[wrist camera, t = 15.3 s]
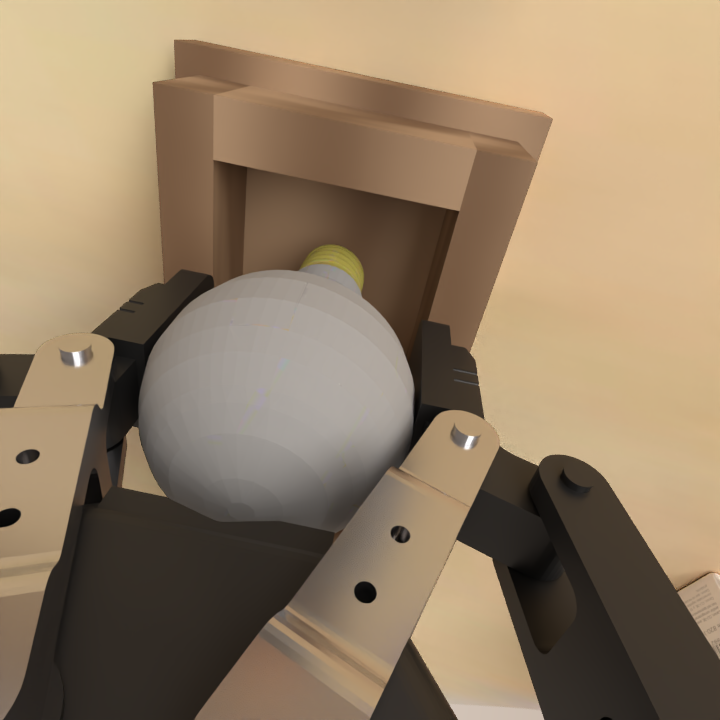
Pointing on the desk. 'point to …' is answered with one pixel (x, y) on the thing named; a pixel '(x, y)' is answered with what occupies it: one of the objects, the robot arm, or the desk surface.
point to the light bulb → (278, 397)
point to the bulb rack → (341, 180)
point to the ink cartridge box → (705, 607)
